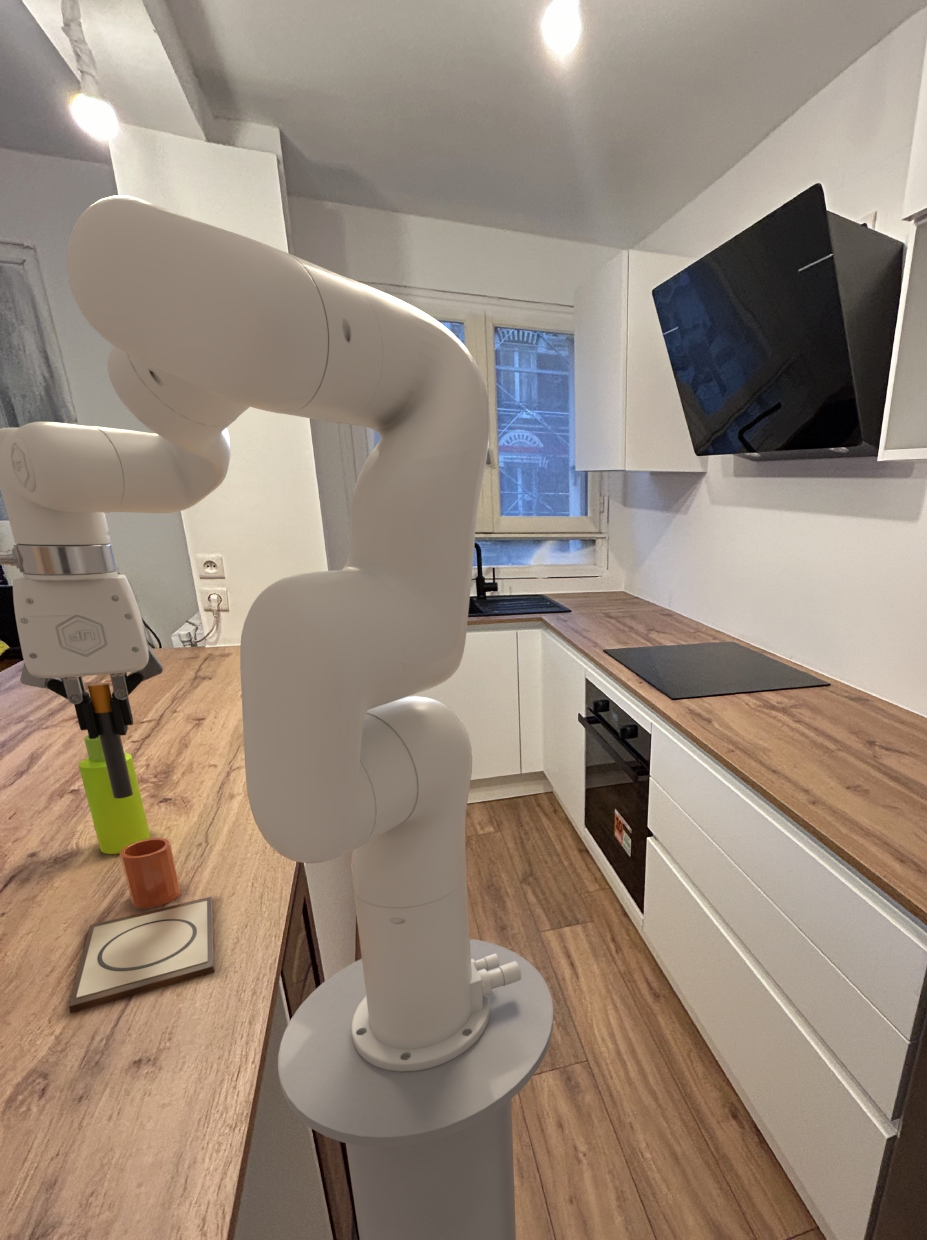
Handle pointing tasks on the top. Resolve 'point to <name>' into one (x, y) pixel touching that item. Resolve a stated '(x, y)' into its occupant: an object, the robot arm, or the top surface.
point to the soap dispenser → (112, 802)
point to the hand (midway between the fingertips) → (109, 732)
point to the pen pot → (150, 872)
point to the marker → (110, 740)
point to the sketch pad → (144, 953)
